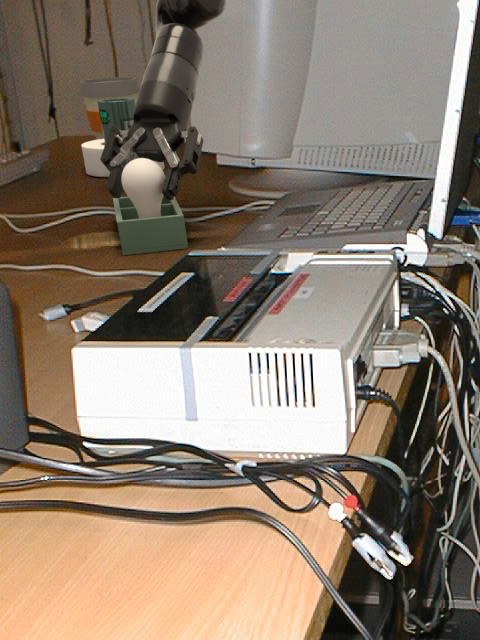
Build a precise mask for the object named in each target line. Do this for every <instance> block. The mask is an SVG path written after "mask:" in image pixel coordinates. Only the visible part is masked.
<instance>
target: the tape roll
mask: <svg viewBox="0 0 480 640" xmlns="http://www.w3.org/2000/svg"><path fill="white" fill-rule="evenodd" d="M80 146H81V152H82V157H83V164H84V168H85V173H86V174H87V175H88V176H90V177H91V176H92V177H97V178H109V175H110V171H109V170H108V169H107V168H106V167H105V165H104V164H103V163H102V162H101V160H100V158H101V155H102V152H103V149H104V146H105V141H104V139H98V140H96V139H93V140H89V141H86V142H83V143H81V145H80ZM154 162H155V163H157V164H158V165H159V166H160V167H161V169H162V170H163V171H164V170H165V168H166V167H165V161H164V162H157V161H154Z"/></svg>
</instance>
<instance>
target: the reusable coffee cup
mask: <svg viewBox="0 0 480 640" xmlns="http://www.w3.org/2000/svg"><path fill="white" fill-rule="evenodd" d="M79 85H80V95H81V97H83V101H84V104H85V107H86V109H85V115H86V117H87V121H88V123H89V126H90V129H91V132H93V133H94V136H95V140H98V139H104V135H103V130H102V124H101V119H100V113H99V108H98V102H97V101H100V100H105V99H115V98H133V99H134V102H135V105H136V102H137V98H138V94H139V91H140V88H139V87H140V86H139V82H138V80H137V78H136V77H134V76H133V77H132V76H115V77H100V78H90V79H83V80H80V81H79Z"/></svg>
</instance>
